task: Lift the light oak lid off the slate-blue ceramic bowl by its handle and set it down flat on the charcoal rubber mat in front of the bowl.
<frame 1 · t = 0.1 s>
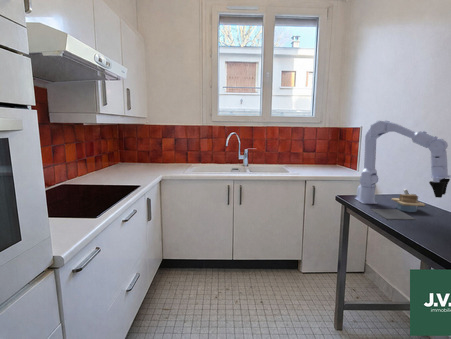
hand: (440, 195, 119), 10 cm above the table, tool pointing down, fingers open, 7 cm apart
lid: (407, 202, 132), point 3 cm above the table, touching bowl
mat: (392, 214, 125), on the table
bowl: (406, 209, 132), on the table
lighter: (409, 203, 142), on the table
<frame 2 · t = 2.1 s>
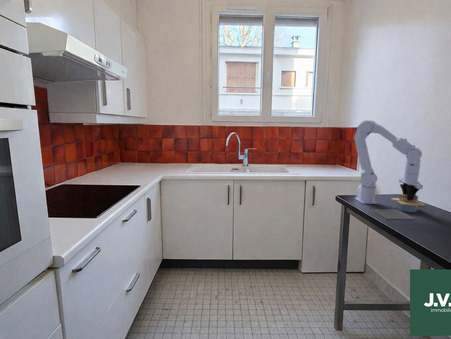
hand: (407, 199, 132), 5 cm above the table, tool pointing down, fingers closed on lid, 2 cm apart
lid: (407, 202, 132), point 3 cm above the table, touching bowl, gripper
everything else where it was.
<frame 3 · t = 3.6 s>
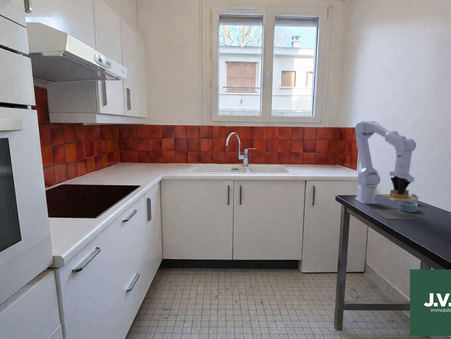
hand: (398, 193, 125), 10 cm above the table, tool pointing down, fingers closed on lid, 2 cm apart
lid: (398, 198, 125), point 7 cm above the table, touching gripper
everything else where it was.
when the fingers open (3 cm above the table, at t = 5.4 s): lid stays where it is, resting on mat.
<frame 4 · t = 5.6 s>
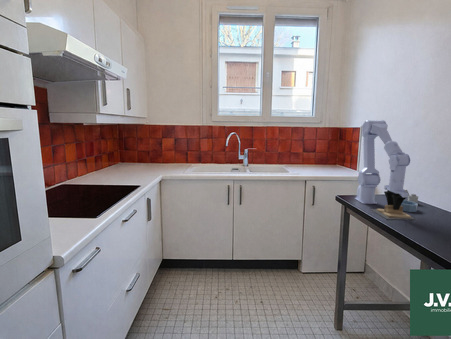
hand: (393, 207, 124), 3 cm above the table, tool pointing down, fingers open, 4 cm apart
lid: (392, 213, 125), resting on mat
everything else where it was.
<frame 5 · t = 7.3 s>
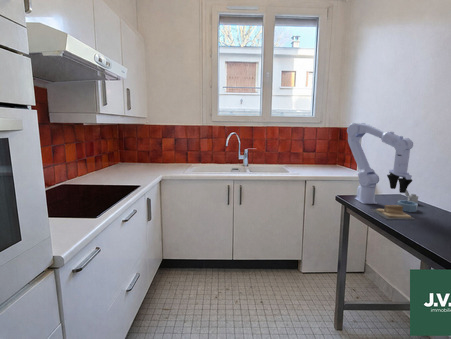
hand: (397, 190, 130), 10 cm above the table, tool pointing down, fingers open, 7 cm apart
nothing on the table moved.
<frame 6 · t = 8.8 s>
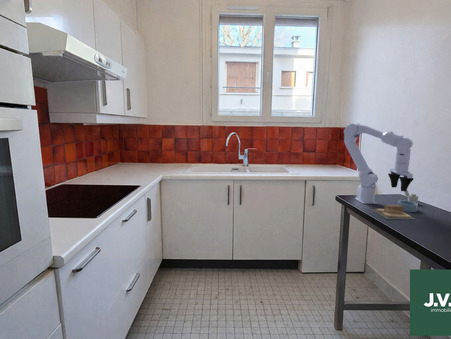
hand: (398, 189, 133), 10 cm above the table, tool pointing down, fingers open, 7 cm apart
nothing on the table moved.
at the end: lid inside the target area on the mat (0.2 cm from its centre), point 0.4 cm above the mat's base; lid tilted 0°; lid touching mat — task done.
